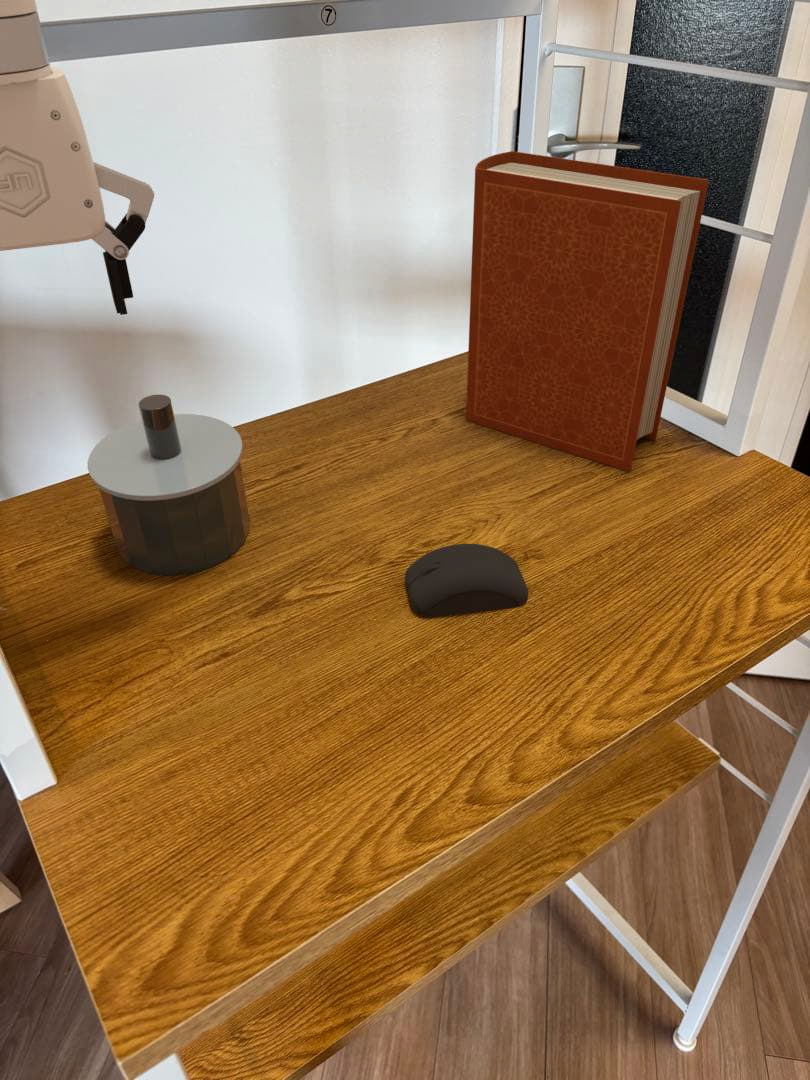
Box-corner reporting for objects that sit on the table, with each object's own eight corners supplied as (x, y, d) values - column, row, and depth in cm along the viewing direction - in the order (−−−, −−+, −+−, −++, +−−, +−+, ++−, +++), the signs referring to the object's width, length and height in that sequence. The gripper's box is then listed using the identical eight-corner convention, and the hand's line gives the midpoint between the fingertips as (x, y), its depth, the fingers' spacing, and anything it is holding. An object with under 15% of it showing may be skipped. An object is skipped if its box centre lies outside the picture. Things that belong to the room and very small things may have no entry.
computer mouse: (402, 575, 82) (402, 544, 79) (513, 562, 83) (516, 530, 80) (413, 619, 77) (413, 587, 74) (531, 604, 78) (535, 572, 76)
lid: (96, 520, 74) (77, 457, 70) (85, 439, 85) (68, 381, 81) (258, 486, 78) (249, 424, 74) (228, 412, 89) (218, 355, 85)
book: (655, 440, 100) (708, 179, 82) (630, 472, 95) (680, 201, 76) (490, 391, 111) (503, 149, 92) (458, 417, 105) (466, 167, 87)
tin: (124, 589, 80) (100, 510, 75) (111, 511, 90) (90, 436, 85) (261, 556, 84) (249, 479, 78) (235, 485, 94) (222, 411, 88)
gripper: (-191, 67, 45) (-79, 357, 56) (134, 50, 50) (180, 319, 61) (-171, 48, 51) (-73, 315, 61) (120, 35, 56) (164, 284, 66)
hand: (53, 317), depth 61 cm, fingers open, 9 cm apart
